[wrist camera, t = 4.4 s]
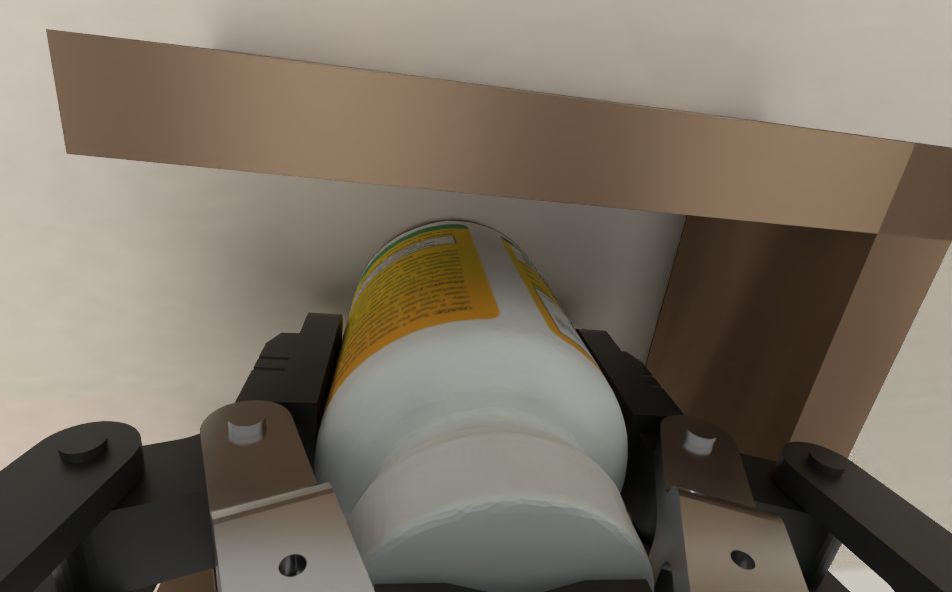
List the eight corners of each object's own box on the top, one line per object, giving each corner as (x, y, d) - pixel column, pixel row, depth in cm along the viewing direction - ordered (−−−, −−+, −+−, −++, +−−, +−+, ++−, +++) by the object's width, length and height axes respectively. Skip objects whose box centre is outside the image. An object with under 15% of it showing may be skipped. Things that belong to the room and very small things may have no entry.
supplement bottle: (568, 250, 15) (799, 503, 6) (500, 403, 17) (605, 771, 8) (382, 188, 14) (341, 399, 5) (330, 362, 15) (230, 747, 7)
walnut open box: (766, 122, 14) (994, 153, 9) (655, 475, 19) (758, 643, 13) (212, 49, 12) (45, 29, 6) (237, 469, 16) (152, 667, 11)
